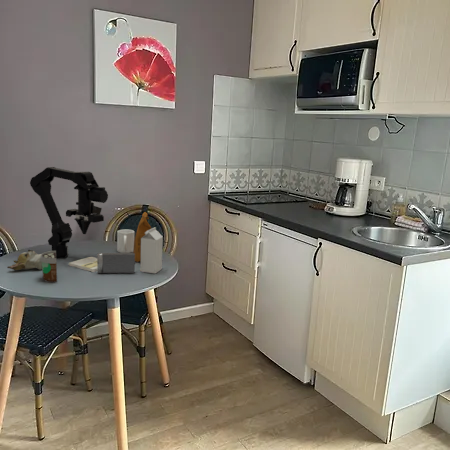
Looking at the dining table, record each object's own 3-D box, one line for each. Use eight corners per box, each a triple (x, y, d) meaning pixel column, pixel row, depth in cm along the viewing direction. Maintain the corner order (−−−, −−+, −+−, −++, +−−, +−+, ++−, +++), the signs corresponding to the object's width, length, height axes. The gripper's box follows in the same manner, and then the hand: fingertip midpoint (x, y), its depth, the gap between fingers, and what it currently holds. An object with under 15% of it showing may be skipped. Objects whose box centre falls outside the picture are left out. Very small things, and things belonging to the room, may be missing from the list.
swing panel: (97, 273, 192) (97, 254, 190) (97, 270, 195) (97, 252, 193) (134, 272, 195) (134, 254, 193) (134, 270, 198) (134, 252, 196)
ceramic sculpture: (43, 252, 188) (5, 254, 186) (45, 272, 190) (7, 274, 188) (49, 246, 199) (12, 247, 196) (50, 265, 201) (14, 266, 198)
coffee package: (154, 255, 224) (155, 211, 220) (154, 262, 212) (155, 216, 208) (133, 255, 223) (134, 211, 218) (132, 262, 211) (133, 216, 206)
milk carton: (161, 269, 203) (163, 227, 199) (155, 274, 196) (156, 231, 193) (147, 267, 205) (148, 226, 201) (140, 271, 198) (140, 229, 194)
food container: (40, 274, 188) (39, 250, 186) (56, 273, 190) (55, 250, 188) (40, 284, 177) (39, 259, 175) (56, 283, 179) (56, 258, 177)
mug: (133, 255, 222) (133, 235, 220) (115, 255, 221) (115, 234, 219) (134, 249, 234) (134, 229, 232) (118, 248, 233) (118, 229, 230)
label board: (68, 265, 201) (68, 261, 201) (90, 259, 213) (90, 255, 212) (93, 272, 194) (93, 268, 194) (114, 265, 205) (115, 261, 205)
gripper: (113, 201, 206) (112, 235, 209) (84, 195, 215) (84, 227, 218) (94, 203, 196) (93, 239, 200) (64, 197, 206) (65, 231, 209)
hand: (84, 234), depth 207 cm, fingers closed
